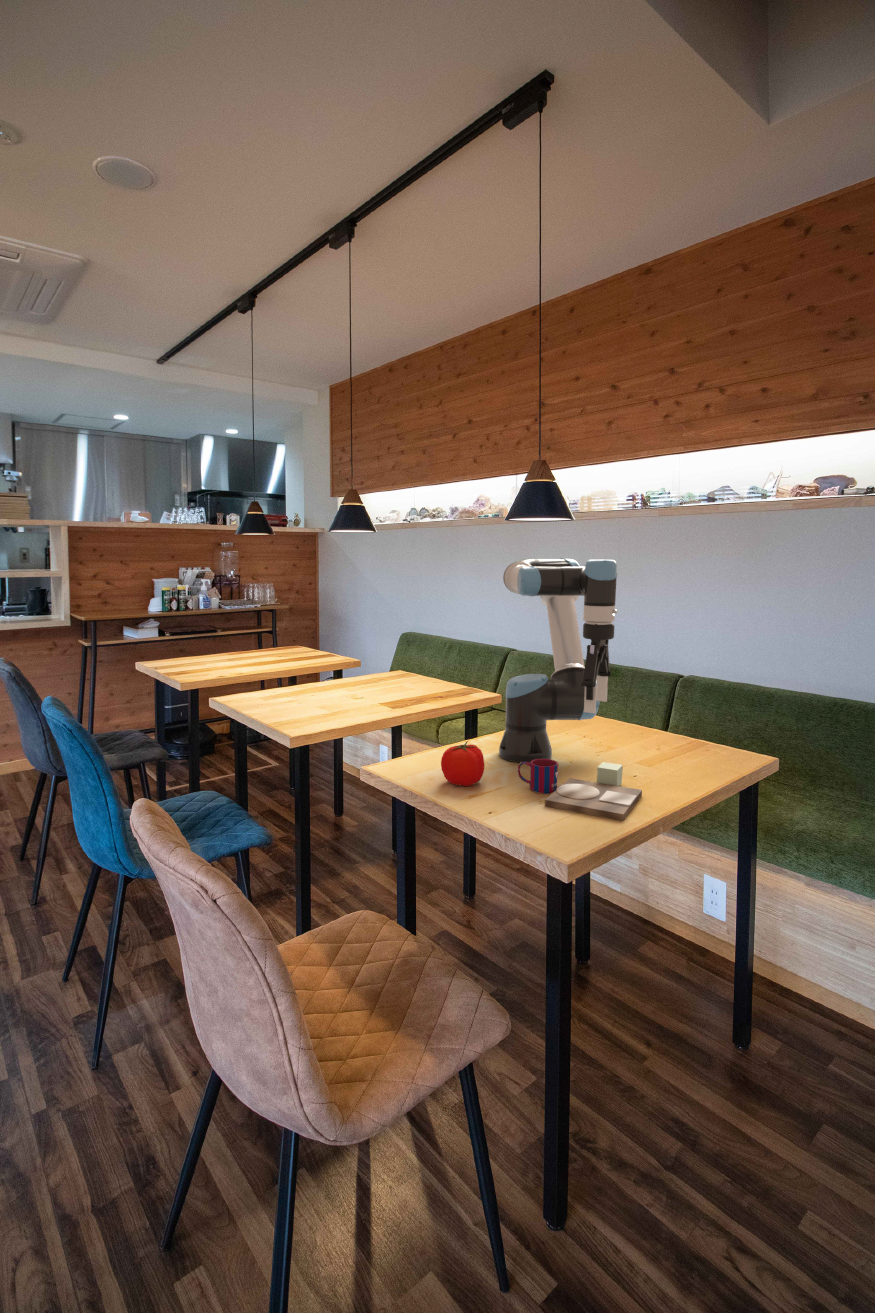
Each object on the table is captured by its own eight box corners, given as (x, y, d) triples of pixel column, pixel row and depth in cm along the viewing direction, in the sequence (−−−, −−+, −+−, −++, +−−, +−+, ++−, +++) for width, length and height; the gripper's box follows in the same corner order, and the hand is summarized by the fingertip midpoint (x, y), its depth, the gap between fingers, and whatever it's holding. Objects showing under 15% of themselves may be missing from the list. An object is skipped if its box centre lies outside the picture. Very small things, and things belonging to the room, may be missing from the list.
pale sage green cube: (596, 786, 169) (597, 767, 168) (602, 780, 173) (602, 762, 173) (616, 789, 167) (617, 770, 166) (621, 783, 171) (622, 764, 170)
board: (544, 806, 156) (545, 798, 155) (569, 783, 171) (569, 776, 170) (623, 820, 147) (623, 813, 146) (641, 796, 162) (642, 788, 162)
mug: (551, 795, 162) (552, 768, 161) (513, 788, 167) (513, 762, 166) (561, 787, 168) (562, 761, 167) (524, 780, 173) (524, 755, 172)
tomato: (477, 774, 178) (478, 736, 177) (489, 790, 166) (490, 750, 165) (436, 776, 177) (436, 738, 175) (445, 793, 164) (445, 752, 163)
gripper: (603, 628, 153) (600, 719, 157) (623, 618, 176) (619, 697, 179) (571, 627, 156) (568, 716, 160) (594, 617, 179) (591, 695, 182)
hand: (595, 706), depth 169 cm, fingers open, 13 cm apart
